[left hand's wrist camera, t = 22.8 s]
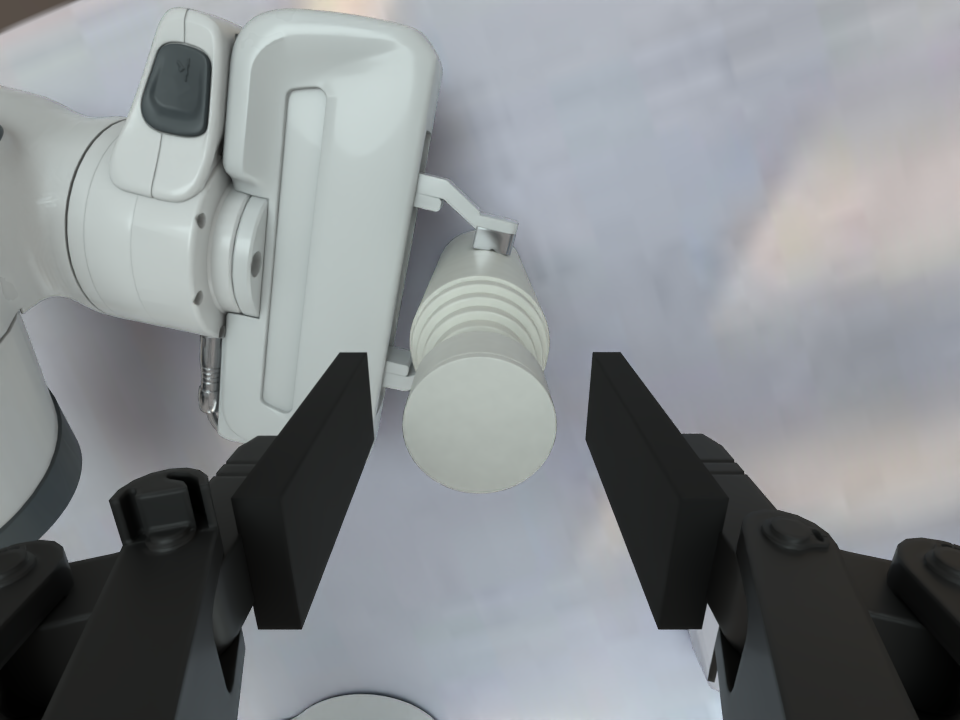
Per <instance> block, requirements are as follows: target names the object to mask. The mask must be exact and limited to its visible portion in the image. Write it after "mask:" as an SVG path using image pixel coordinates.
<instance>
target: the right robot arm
mask: <svg viewBox="0 0 960 720" xmlns="http://www.w3.org/2000/svg"><path fill="white" fill-rule="evenodd" d="M442 73H443V69H442V64H441V61H440V59H439V56H438V54H437V52H436V51H435V49H434V47H433V46H432V44H431V43H430V41H429V40H428V39H427V37H426V36H425V35H424V34H423V33H422V32H420V31H418V30H417V29H415V28H412V27H409V26H406V25H402V24H399V23H395V22H390V21H386V20H381V19H376V18H371V17H365V16H359V15H353V14H346V13H339V12H331V11H320V10H309V9H278V10H272V11H268V12H265V13H262V14H260V15H258V16H256V17H254V18H253V19H252V20H250V21H249V22H248V23H247V24H246V25H245V26H244V27H243V28H242V27H240V26H238V25H236V24H234V23H233V22H230V21H228V20H225V19H223V18H220V17H217V16H215V15H211V14H208V13H205V12H201V11H197V10H192V9H188V8H180V7H178V8H172V9H170V10H168V11H167V12H166V13H165V14H164V16H163V17H162V19H161V21H160V23H159V25H158V28H157V31H156V33H155V36H154V40H153V43H152V46H151V49H150V53H149V56H148V59H147V62H146V65H145V69H144V72H143V75H142V78H141V81H140V84H139V86H138V89H137V92H136V95H135V98H134V100H133V103H132V106H131V109H130V111H129V114H128V116H127V117H122V116H114V117H88V116H84V115H82V114H79V113H76V112H74V111H73V110H71V109H69V108H67V107H66V106H64V105H62V104H60V103H58V102H55V101H53V100H51V99H49V98H46V97H43V96H40V95H37V94H33V93H29V92H26V91H21V90H17V89H12V88H8V87H4V86H0V549H1V548H4V547H9V546H10V545H14V544H18V543H23V542H29V541H36V540H38V539H40V538H41V537H42V536H43V535H44V534H45V533H46V532H47V530H48V529H49V528H50V527H51V526H52V525H53V524H54V523H55V522H56V520H57V519H58V518H59V517H60V515H61V514H62V513H63V511H64V510H65V508H66V507H67V505H68V504H69V502H70V500H71V498H72V497H73V495H74V492H75V490H76V488H77V485H78V482H79V479H80V475H81V470H82V454H81V450H80V446H79V443H78V441H77V439H76V437H75V435H74V433H73V432H72V430H71V428H70V426H69V424H68V422H67V420H66V418H65V416H64V414H63V413H62V411H61V409H60V407H59V405H58V403H57V401H56V399H55V397H54V395H53V394H52V393H51V391H50V390H49V388H48V387H47V384H46V382H45V379H44V376H43V374H42V371H41V368H40V365H39V363H38V360H37V357H36V355H35V352H34V349H33V346H32V344H31V341H30V338H29V336H28V333H27V330H26V327H25V325H24V322H23V319H22V317H21V314H20V312H21V313H22V314H24V313H25V312H27V311H28V310H29V309H31V308H32V307H34V306H35V305H36V304H38V303H39V302H41V301H42V300H45V299H47V298H52V297H66V298H69V299H72V300H74V301H76V302H78V303H80V304H82V305H83V306H85V307H87V308H90V309H92V310H94V311H96V312H99V313H102V314H105V315H110V316H114V317H118V318H123V319H127V320H132V321H137V322H142V323H146V324H151V325H156V326H161V327H165V328H171V329H176V330H180V331H185V332H190V333H194V334H199V335H200V369H201V385H200V386H199V390H198V402H199V407H200V410H201V411H202V412H204V413H207V417H208V419H209V421H210V423H211V424H212V426H213V427H214V428H215V429H216V430H217V431H218V434H219V435H220V436H221V437H223V438H225V439H227V440H230V441H234V442H239V443H244V444H245V443H247V442H248V441H250V440H251V439H253V438H255V437H256V436H277V435H278V434H279V433H280V431H281V430H282V429H283V427H284V426H285V425H286V423H287V422H288V421H289V419H290V418H291V417H292V415H293V414H294V413H295V411H296V410H297V409H298V407H299V406H300V405H301V403H302V402H303V401H304V399H305V398H306V397H307V395H308V394H309V393H310V391H311V390H312V389H313V387H314V386H315V385H316V383H317V382H318V381H319V379H320V378H321V377H322V375H323V374H324V372H325V371H326V370H327V368H328V367H329V366H330V364H331V363H332V362H333V360H334V359H335V358H336V356H337V355H338V354H339V352H367V356H368V368H369V380H370V392H371V404H372V416H373V427H374V442H373V445H372V447H371V450H370V452H369V455H368V458H369V456H370V454H371V451H372V449H373V446H374V443H375V440H376V437H377V434H378V429H379V424H380V418H381V413H382V407H383V402H384V396H385V391H386V388H391V389H396V390H401V391H408V390H410V389H411V386H412V383H413V379H414V376H415V373H416V371H415V369H414V366H413V362H412V357H411V352H410V350H406V349H402V348H397V347H393V346H394V341H395V335H396V330H397V324H398V318H399V313H400V307H401V302H402V296H403V291H404V285H405V280H406V274H407V269H408V263H409V257H410V252H411V246H412V241H413V235H414V230H415V224H416V219H417V213H418V208H421V209H426V210H430V211H434V212H438V211H439V210H440V209H441V208H442V207H443V204H444V200H445V201H446V202H447V203H448V204H449V205H450V206H451V207H452V208H453V209H454V210H455V211H456V212H457V213H459V214H460V215H461V216H462V217H463V218H464V219H465V220H466V221H467V222H468V223H469V224H470V225H471V226H473V227H474V228H475V229H476V232H475V236H474V241H473V248H476V249H481V250H487V251H488V250H491V249H493V250H494V251H495V252H496V253H499V254H502V255H510V254H511V251H512V247H513V243H514V240H515V236H516V232H517V228H518V222H517V221H515V220H512V219H509V218H505V217H501V216H497V215H492V214H488V213H484V212H480V208H479V207H478V206H477V205H476V204H475V203H474V202H473V201H472V200H471V199H470V198H468V197H467V196H466V195H465V194H464V193H463V192H462V191H461V190H460V189H459V188H458V187H457V186H456V185H455V184H454V183H453V182H452V181H451V180H450V179H448V178H444V177H440V176H436V175H432V174H428V173H425V169H426V163H427V158H428V152H429V147H430V141H431V136H432V130H433V124H434V119H435V113H436V108H437V102H438V97H439V91H440V85H441V80H442ZM19 310H20V311H19ZM216 412H218V418H217V416H216ZM368 458H367V460H368ZM367 460H366V462H367ZM291 720H434V719H433V718H432V717H431V716H430V715H428V714H427V713H426V712H424V711H422V710H421V709H419V708H417V707H415V706H413V705H411V704H409V703H407V702H404V701H401V700H398V699H395V698H391V697H386V696H380V695H371V694H352V695H343V696H338V697H333V698H330V699H327V700H324V701H321V702H319V703H317V704H315V705H313V706H311V707H309V708H308V709H306V710H305V711H304V712H302V713H301V714H300V715H298V716H297V717H295V718H293V719H291Z"/></svg>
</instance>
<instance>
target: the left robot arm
mask: <svg viewBox="0 0 960 720" xmlns="http://www.w3.org/2000/svg"><path fill="white" fill-rule="evenodd" d="M373 442H374V427H373V416H372V404H371V392H370V380H369V368H368V356H367V352H339V354H338V355H337V356H336V358H335V359H334V360H333V362H332V363H331V364H330V366H329V367H328V368H327V370H326V371H325V372H324V374H323V375H322V377H321V378H320V379H319V381H318V382H317V383H316V385H315V386H314V387H313V389H312V390H311V391H310V393H309V394H308V395H307V397H306V398H305V399H304V401H303V402H302V403H301V405H300V406H299V407H298V409H297V410H296V411H295V413H294V414H293V415H292V417H291V418H290V419H289V421H288V422H287V423H286V425H285V426H284V427H283V429H282V430H281V431H280V433H279V434H278V435H277V436H256V437H255V438H253V439H251V440H250V441H248V442H247V443H245V444H243V445H242V446H240V447H238V449H237V450H236V451H235V452H234V453H233V454H232V456H231V457H230V458H229V459H228V460H227V461H226V464H224V465H223V466H222V467H221V468H220V470H219V471H218V472H217V473H216V476H214V477H213V478H212V479H211V480H210V481H208V476H207V475H206V474H204V473H203V472H202V471H200V470H196V469H191V468H174V469H167V470H163V471H158V472H154V473H150V474H148V475H146V476H143V477H141V478H138V479H136V480H133V481H132V482H130V483H129V484H127V485H125V486H124V487H122V488H121V489H119V490H118V491H117V492H116V493H115V494H114V495H113V496H112V497H111V499H110V500H109V503H110V506H111V509H112V512H113V515H114V519H115V522H116V525H117V528H118V531H119V535H120V538H121V541H122V544H123V546H122V549H121V551H120V552H118V553H114V554H110V555H105V556H100V557H95V558H90V559H86V560H81V561H76V562H71V563H69V562H68V560H67V557H66V554H65V552H64V549H63V547H62V546H61V545H59V544H58V543H56V542H55V541H46V540H36V541H29V542H23V543H18V544H14V545H10V546H9V547H4V548H1V549H0V720H237V716H238V708H239V699H240V690H241V682H242V673H243V664H244V656H245V643H244V637H243V632H242V628H241V627H242V625H243V623H244V622H245V620H246V618H247V616H248V614H249V612H250V610H251V608H252V606H253V608H254V612H255V617H256V622H257V627H258V629H302V627H303V625H304V622H305V619H306V617H307V614H308V612H309V609H310V606H311V604H312V601H313V599H314V596H315V593H316V591H317V588H318V586H319V583H320V580H321V578H322V575H323V572H324V570H325V567H326V565H327V562H328V559H329V557H330V554H331V552H332V549H333V546H334V544H335V541H336V539H337V536H338V533H339V531H340V528H341V526H342V523H343V520H344V518H345V515H346V512H347V510H348V507H349V505H350V502H351V499H352V497H353V494H354V492H355V489H356V486H357V484H358V481H359V479H360V476H361V473H362V471H363V468H364V465H365V463H366V460H367V458H368V455H369V452H370V450H371V447H372V445H373ZM586 442H587V445H588V447H589V450H590V452H591V455H592V458H593V460H594V463H595V465H596V468H597V471H598V473H599V476H600V479H601V481H602V484H603V486H604V489H605V492H606V494H607V497H608V499H609V502H610V505H611V507H612V510H613V512H614V515H615V518H616V520H617V523H618V526H619V528H620V531H621V533H622V536H623V539H624V541H625V544H626V546H627V549H628V552H629V554H630V557H631V559H632V562H633V565H634V567H635V570H636V572H637V575H638V578H639V580H640V583H641V586H642V588H643V591H644V593H645V596H646V599H647V601H648V604H649V606H650V609H651V612H652V614H653V617H654V619H655V622H656V625H657V627H658V629H702V627H703V622H704V617H705V612H706V608H707V603H708V605H709V607H710V609H711V611H712V613H713V615H714V617H715V619H716V621H717V623H718V625H719V628H718V632H717V637H716V641H715V646H714V650H713V654H712V659H711V663H710V668H709V674H708V680H707V681H710V682H714V683H715V678H716V674H717V671H718V680H719V689H720V697H721V706H722V715H723V720H960V546H958V545H955V544H954V545H953V544H951V543H949V542H945V541H940V540H934V539H927V538H911V539H905V540H904V541H903V542H901V543H900V544H898V546H897V549H896V551H895V554H894V557H893V560H892V561H890V560H886V559H881V558H876V557H871V556H866V555H861V554H857V553H852V552H847V551H843V550H840V549H839V548H838V546H837V544H836V543H835V541H834V540H833V539H832V537H831V536H830V535H829V534H828V533H827V532H826V531H824V530H823V529H822V528H820V527H819V526H817V525H816V524H815V523H813V522H811V521H809V520H806V519H804V518H802V517H800V516H798V515H795V514H791V513H787V512H784V511H780V510H777V509H776V508H775V507H774V506H773V505H772V503H771V502H770V501H769V500H768V499H767V498H766V496H765V495H764V494H763V493H762V492H761V491H760V490H759V488H758V487H757V486H756V485H755V484H754V483H753V481H752V480H751V479H750V478H749V477H748V476H747V475H744V471H743V470H742V469H741V467H740V466H739V465H738V464H737V463H734V459H733V458H732V457H731V456H730V455H729V453H728V452H727V451H726V450H725V449H724V448H723V446H721V445H720V444H718V443H717V442H715V441H713V440H712V439H710V438H708V437H707V436H705V435H703V434H681V433H680V431H679V430H678V429H677V427H676V426H675V425H674V423H673V422H672V421H671V419H670V418H669V417H668V415H667V414H666V413H665V411H664V410H663V409H662V407H661V406H660V405H659V403H658V402H657V401H656V399H655V398H654V397H653V395H652V394H651V393H650V391H649V390H648V389H647V387H646V386H645V385H644V383H643V382H642V381H641V379H640V378H639V377H638V375H637V374H636V372H635V371H634V370H633V368H632V367H631V366H630V364H629V363H628V362H627V360H626V359H625V358H624V356H623V355H622V354H621V352H593V356H592V368H591V380H590V392H589V404H588V416H587V427H586Z"/></svg>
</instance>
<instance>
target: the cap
mask: <svg viewBox="0 0 960 720" xmlns="http://www.w3.org/2000/svg"><path fill="white" fill-rule="evenodd" d="M402 428H403V437H404V440H405V444H406V447H407V449H408V451H409V454H410V455H411V457H412V459H413V460H414V462H415V463H416V464H417V465H418V467H419V468H420V469H421V470H422V471H423V472H424V473H425V474H426V475H427V476H429V477H430V478H432V479H433V480H434V481H436V482H438V483H440V484H441V485H443V486H446V487H448V488H450V489H454V490H457V491H461V492H467V493H477V494H480V493H492V492H498V491H502V490H506V489H508V488H511V487H514V486H516V485H518V484H520V483H521V482H523V481H525V480H526V479H528V478H529V477H530V476H532V475H533V474H534V473H535V472H536V471H537V470H538V469H539V468H540V467H541V466H542V465H543V463H544V462H545V460H546V459H547V457H548V456H549V454H550V452H551V450H552V447H553V444H554V441H555V437H556V431H557V419H556V412H555V409H554V405H553V402H552V399H551V395H550V392H549V389H548V386H547V382H546V379H545V376H544V373H543V370H542V368H541V366H540V364H539V363H538V361H537V360H536V358H535V357H534V356H533V355H532V353H531V352H530V351H529V350H528V349H526V348H525V347H524V346H523V345H522V344H520V343H519V342H517V341H515V340H513V339H511V338H509V337H507V336H504V335H501V334H498V333H493V332H486V331H473V332H466V333H461V334H458V335H455V336H452V337H450V338H448V339H446V340H444V341H442V342H441V343H439V344H438V345H436V346H435V347H434V348H433V349H431V350H430V351H429V353H428V354H427V355H426V356H425V357H424V359H423V360H422V361H421V363H420V365H419V367H418V369H417V371H416V373H415V376H414V379H413V383H412V386H411V389H410V393H409V396H408V399H407V402H406V406H405V409H404V414H403V424H402Z"/></svg>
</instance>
